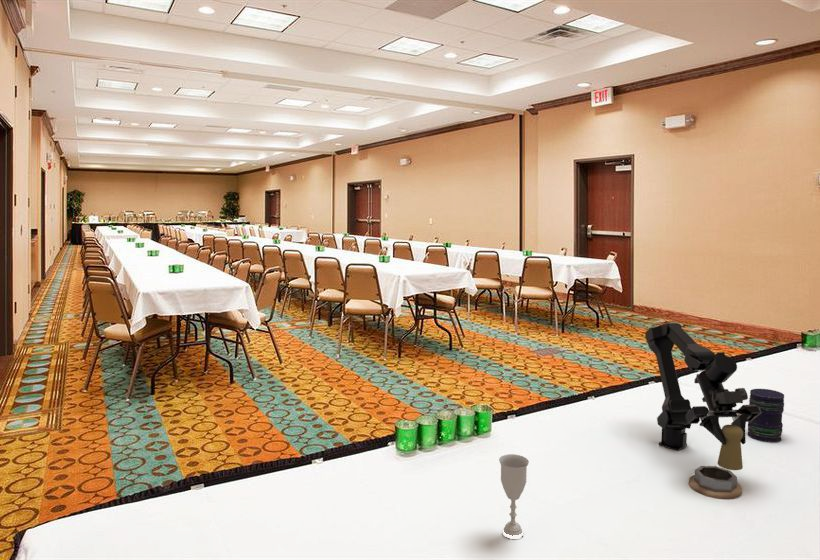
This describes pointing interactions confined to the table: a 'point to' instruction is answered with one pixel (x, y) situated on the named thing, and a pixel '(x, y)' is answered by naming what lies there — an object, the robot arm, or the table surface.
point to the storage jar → (766, 415)
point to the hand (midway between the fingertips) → (734, 444)
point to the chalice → (513, 485)
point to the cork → (731, 448)
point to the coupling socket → (715, 482)
